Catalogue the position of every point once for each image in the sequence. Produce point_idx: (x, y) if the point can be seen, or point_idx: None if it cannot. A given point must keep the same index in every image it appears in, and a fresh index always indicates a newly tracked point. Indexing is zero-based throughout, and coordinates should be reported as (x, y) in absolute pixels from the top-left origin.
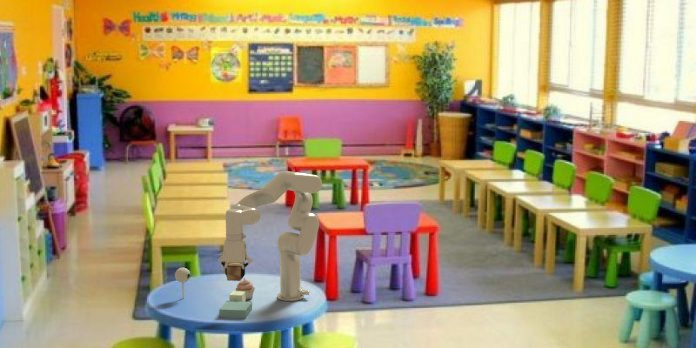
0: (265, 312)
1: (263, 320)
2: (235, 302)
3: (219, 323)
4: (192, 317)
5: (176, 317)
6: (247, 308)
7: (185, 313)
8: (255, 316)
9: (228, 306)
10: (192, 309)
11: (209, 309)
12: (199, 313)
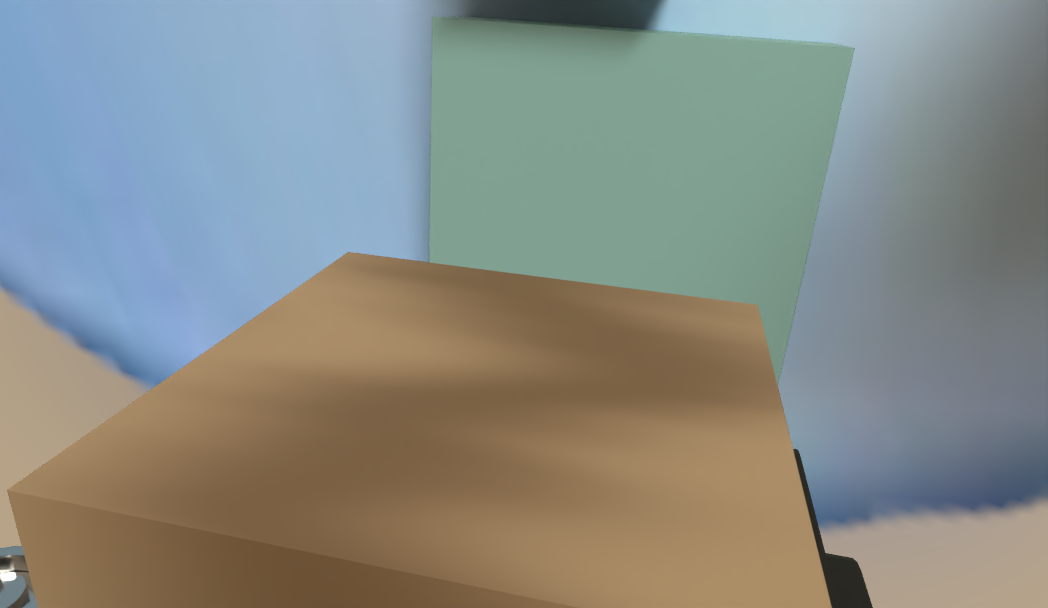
0: (1033, 163)
1: (979, 455)
2: (581, 84)
3: None
4: (203, 334)
5: (70, 329)
6: (786, 343)
7: (92, 215)
8: (878, 320)
9: (514, 265)
10: (99, 77)
11: (275, 67)
12: (220, 214)
